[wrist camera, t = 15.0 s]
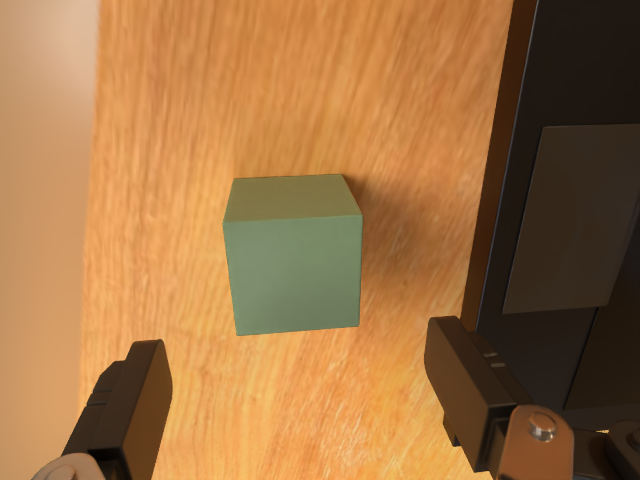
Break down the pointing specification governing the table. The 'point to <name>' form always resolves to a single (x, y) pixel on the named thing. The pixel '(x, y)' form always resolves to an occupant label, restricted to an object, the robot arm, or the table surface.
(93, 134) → the table surface
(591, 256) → the laptop
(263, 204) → the cube
